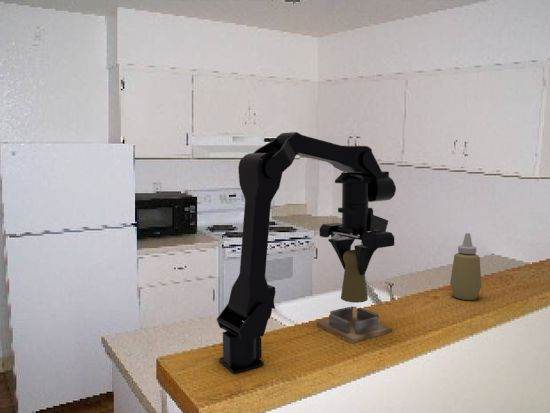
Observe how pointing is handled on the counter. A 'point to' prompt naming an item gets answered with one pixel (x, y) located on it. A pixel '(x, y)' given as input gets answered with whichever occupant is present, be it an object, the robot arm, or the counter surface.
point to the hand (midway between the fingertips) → (354, 272)
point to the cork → (353, 280)
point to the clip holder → (354, 324)
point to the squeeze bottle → (466, 271)
